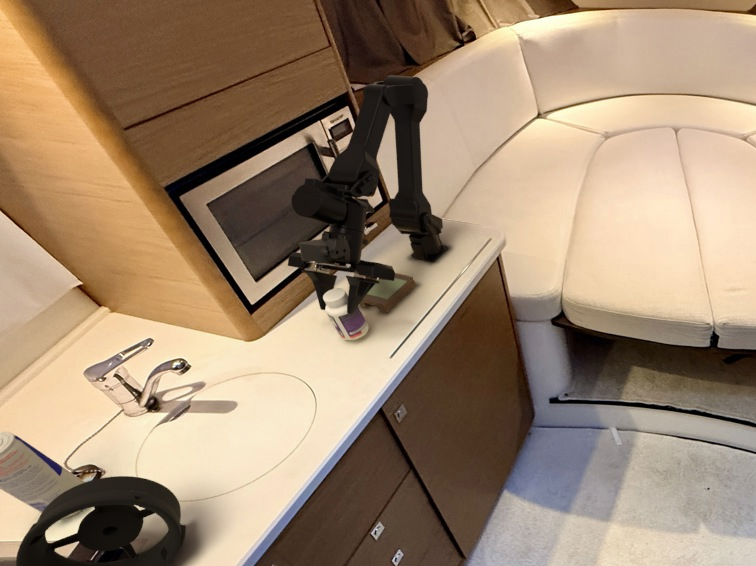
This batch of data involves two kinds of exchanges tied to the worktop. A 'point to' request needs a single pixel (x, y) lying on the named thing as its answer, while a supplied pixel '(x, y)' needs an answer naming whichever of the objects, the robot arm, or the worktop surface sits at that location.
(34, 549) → the black wheel
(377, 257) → the worktop surface
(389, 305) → the box with green label
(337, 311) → the pill bottle
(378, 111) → the robot arm
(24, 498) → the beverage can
